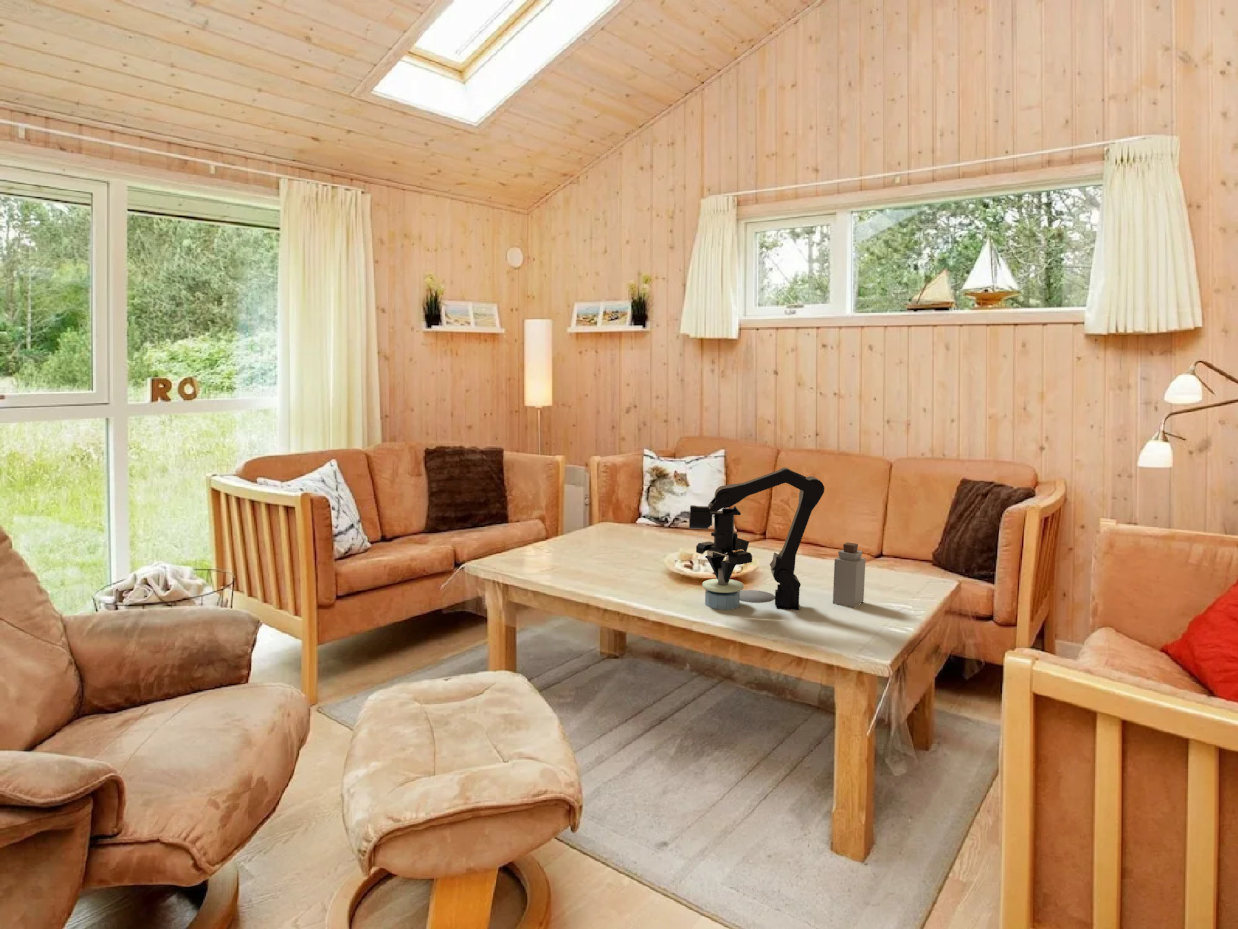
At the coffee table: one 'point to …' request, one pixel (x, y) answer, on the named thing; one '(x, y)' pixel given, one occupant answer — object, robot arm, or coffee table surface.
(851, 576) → the perfume bottle
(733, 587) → the lid
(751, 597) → the mat
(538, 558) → the coffee table surface
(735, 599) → the bowl
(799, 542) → the robot arm
